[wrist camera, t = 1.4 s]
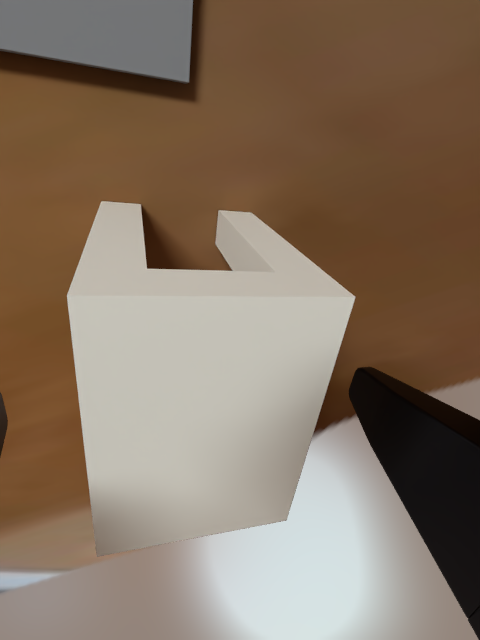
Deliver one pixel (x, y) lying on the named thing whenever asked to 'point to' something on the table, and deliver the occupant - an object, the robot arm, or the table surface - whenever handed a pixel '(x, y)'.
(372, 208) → the table surface
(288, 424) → the white u-channel block
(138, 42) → the mat
